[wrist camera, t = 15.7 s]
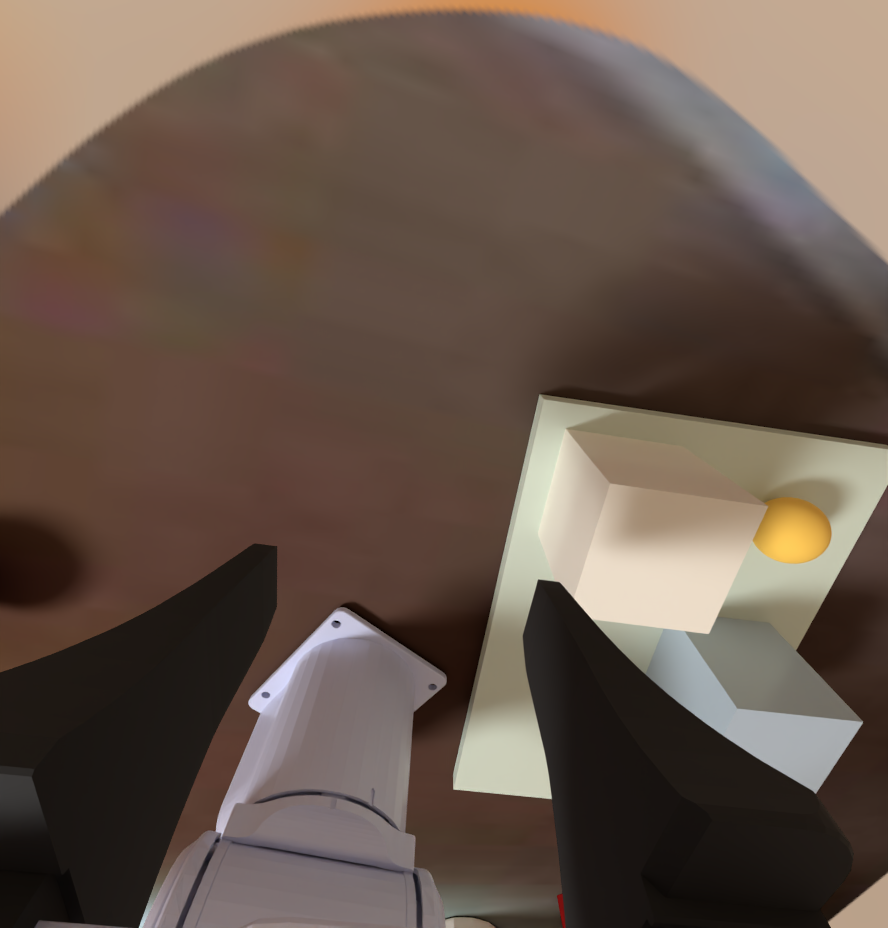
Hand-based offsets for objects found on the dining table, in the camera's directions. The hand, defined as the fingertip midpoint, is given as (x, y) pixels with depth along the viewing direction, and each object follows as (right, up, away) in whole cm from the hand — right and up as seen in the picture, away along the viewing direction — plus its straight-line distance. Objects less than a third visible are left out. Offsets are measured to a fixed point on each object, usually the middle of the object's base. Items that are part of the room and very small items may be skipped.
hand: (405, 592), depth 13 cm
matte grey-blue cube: (+15, -7, +13) cm, 21 cm away
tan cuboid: (+9, +2, +9) cm, 13 cm away
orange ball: (+17, +1, +8) cm, 19 cm away
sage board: (+12, -6, +14) cm, 19 cm away
